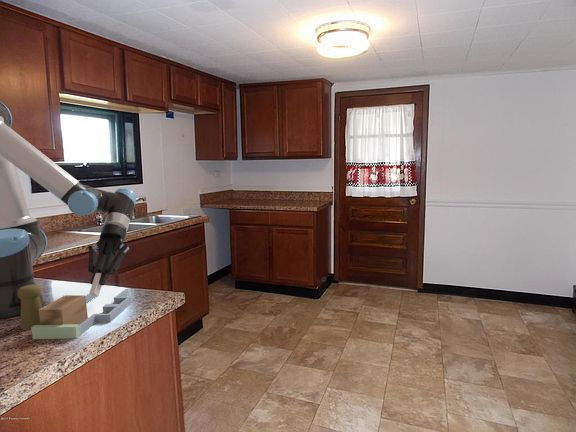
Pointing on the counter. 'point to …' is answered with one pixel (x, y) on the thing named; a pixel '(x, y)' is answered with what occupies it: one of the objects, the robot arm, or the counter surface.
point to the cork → (30, 306)
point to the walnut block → (65, 311)
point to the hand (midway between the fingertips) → (93, 294)
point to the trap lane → (75, 329)
